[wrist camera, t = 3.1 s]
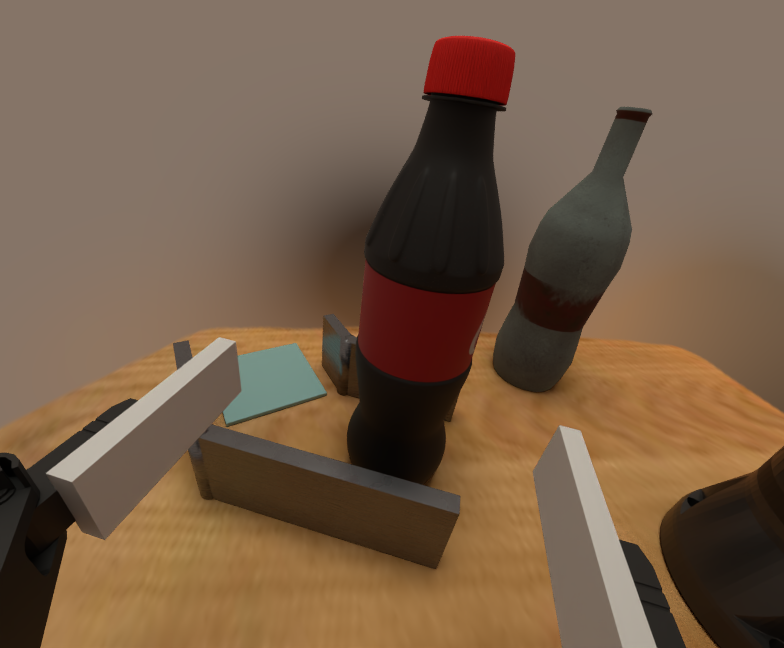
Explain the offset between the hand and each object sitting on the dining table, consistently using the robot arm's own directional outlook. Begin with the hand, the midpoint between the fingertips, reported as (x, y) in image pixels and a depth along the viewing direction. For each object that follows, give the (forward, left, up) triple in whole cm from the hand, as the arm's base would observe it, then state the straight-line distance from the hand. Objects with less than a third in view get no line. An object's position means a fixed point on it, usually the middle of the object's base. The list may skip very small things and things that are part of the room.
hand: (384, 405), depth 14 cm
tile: (+15, -16, -17) cm, 28 cm away
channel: (+8, -12, -17) cm, 22 cm away
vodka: (-14, -29, -17) cm, 37 cm away
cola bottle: (0, -10, -17) cm, 20 cm away
